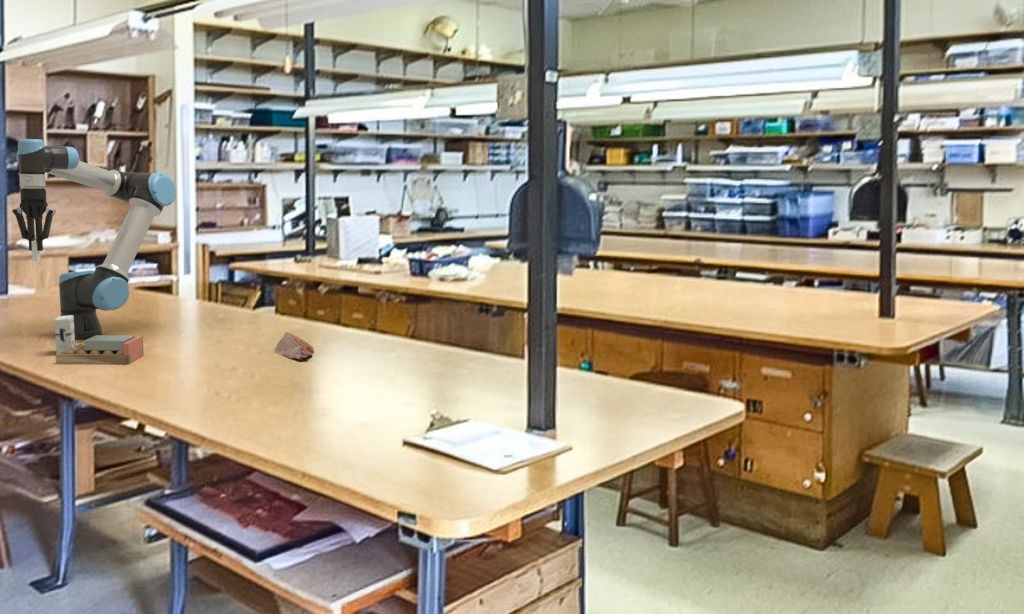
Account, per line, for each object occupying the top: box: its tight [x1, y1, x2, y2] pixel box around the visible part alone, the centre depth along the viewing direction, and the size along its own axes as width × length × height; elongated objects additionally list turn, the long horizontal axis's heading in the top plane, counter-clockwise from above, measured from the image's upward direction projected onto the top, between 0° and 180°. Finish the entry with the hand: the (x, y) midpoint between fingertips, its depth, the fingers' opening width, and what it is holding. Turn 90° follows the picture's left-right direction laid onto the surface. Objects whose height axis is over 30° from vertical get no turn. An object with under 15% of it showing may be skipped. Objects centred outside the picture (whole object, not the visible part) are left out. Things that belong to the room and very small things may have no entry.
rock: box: [274, 331, 315, 360], centre depth 326 cm, size 10×24×10 cm
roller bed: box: [55, 343, 145, 365], centre depth 313 cm, size 14×22×4 cm, turn 93°
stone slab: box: [83, 334, 136, 351], centre depth 312 cm, size 10×12×3 cm
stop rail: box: [123, 335, 144, 365], centre depth 313 cm, size 14×2×6 cm, turn 3°
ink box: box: [54, 315, 76, 354], centre depth 322 cm, size 8×5×12 cm, turn 17°
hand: (36, 260), depth 324 cm, fingers closed
